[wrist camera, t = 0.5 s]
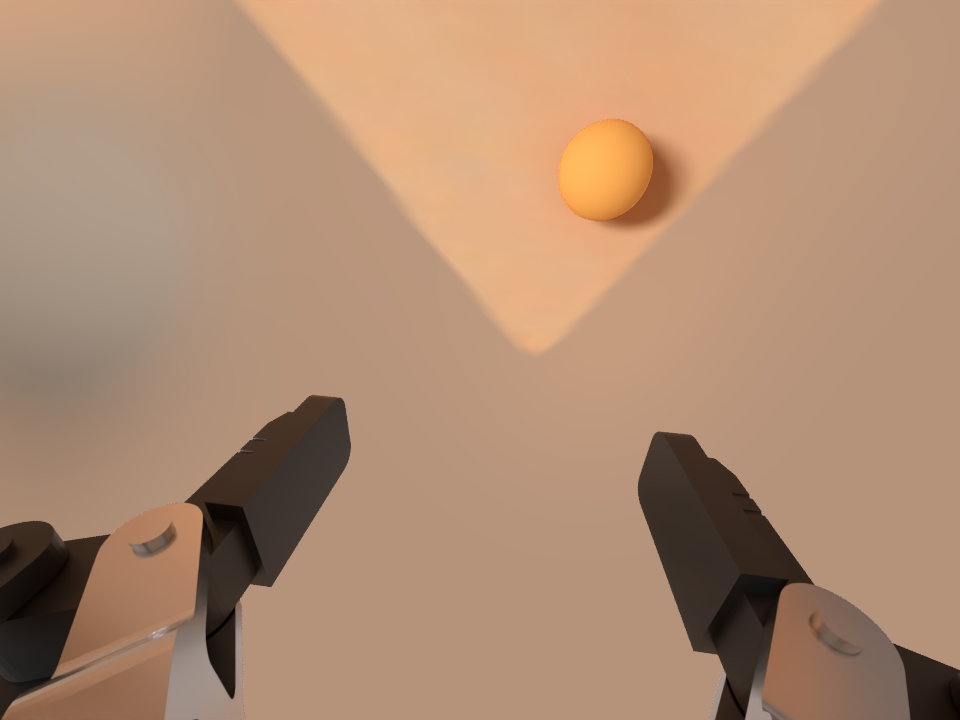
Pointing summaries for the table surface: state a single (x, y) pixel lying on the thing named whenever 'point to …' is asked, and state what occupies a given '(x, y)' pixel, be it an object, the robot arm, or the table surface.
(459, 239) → the table surface
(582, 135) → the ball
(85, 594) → the robot arm
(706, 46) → the table surface
